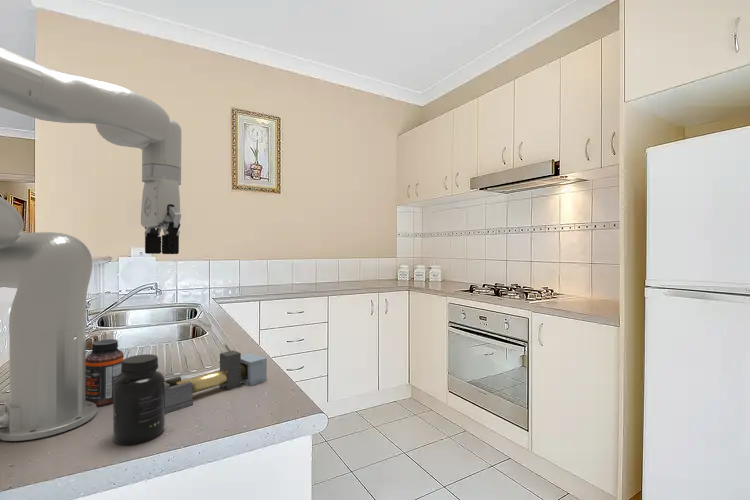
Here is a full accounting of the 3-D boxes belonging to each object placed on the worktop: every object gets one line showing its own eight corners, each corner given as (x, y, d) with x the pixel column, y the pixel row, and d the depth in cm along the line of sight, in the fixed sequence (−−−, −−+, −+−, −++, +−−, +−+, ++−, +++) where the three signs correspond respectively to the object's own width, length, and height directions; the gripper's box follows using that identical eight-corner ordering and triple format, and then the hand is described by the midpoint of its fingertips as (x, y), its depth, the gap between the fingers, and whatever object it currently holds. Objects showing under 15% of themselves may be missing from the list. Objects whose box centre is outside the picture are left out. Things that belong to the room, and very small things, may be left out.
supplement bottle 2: (102, 441, 56) (102, 361, 56) (145, 421, 62) (145, 350, 62) (133, 450, 53) (133, 367, 53) (175, 429, 60) (175, 354, 60)
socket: (250, 386, 78) (250, 362, 78) (234, 379, 82) (234, 356, 82) (266, 380, 82) (266, 358, 82) (250, 374, 86) (250, 353, 85)
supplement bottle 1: (76, 405, 69) (76, 344, 69) (107, 392, 75) (107, 336, 74) (101, 409, 67) (101, 346, 67) (131, 396, 73) (131, 338, 73)
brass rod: (180, 404, 69) (180, 367, 69) (173, 400, 71) (173, 364, 71) (256, 381, 81) (256, 349, 81) (248, 378, 83) (248, 346, 83)
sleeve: (133, 423, 62) (133, 394, 62) (120, 413, 65) (120, 386, 65) (193, 404, 69) (193, 378, 69) (178, 396, 73) (178, 371, 73)
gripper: (129, 178, 85) (128, 253, 85) (158, 167, 73) (157, 254, 73) (164, 183, 90) (164, 253, 90) (196, 174, 79) (196, 254, 79)
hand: (161, 253), depth 82 cm, fingers open, 9 cm apart
